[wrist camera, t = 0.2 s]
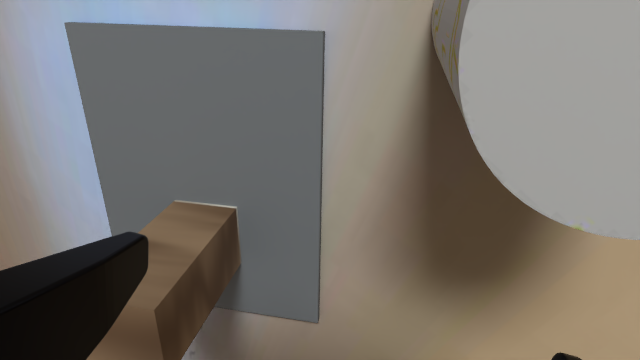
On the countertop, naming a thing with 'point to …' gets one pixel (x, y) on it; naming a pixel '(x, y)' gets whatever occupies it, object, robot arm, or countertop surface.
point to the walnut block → (176, 282)
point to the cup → (552, 102)
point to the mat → (214, 142)
